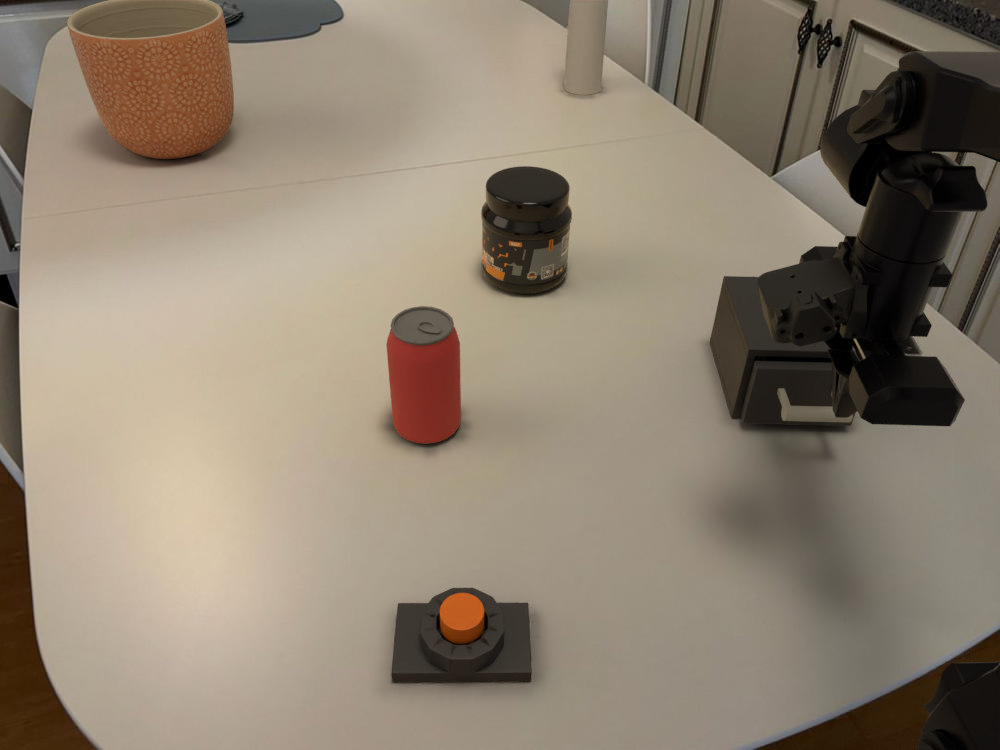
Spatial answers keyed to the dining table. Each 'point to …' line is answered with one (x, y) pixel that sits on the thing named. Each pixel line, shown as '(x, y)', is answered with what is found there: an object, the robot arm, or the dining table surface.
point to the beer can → (424, 374)
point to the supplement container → (525, 229)
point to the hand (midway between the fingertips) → (840, 414)
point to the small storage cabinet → (746, 339)
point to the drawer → (791, 392)
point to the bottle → (585, 46)
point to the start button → (462, 618)
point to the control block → (482, 660)
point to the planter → (157, 73)
